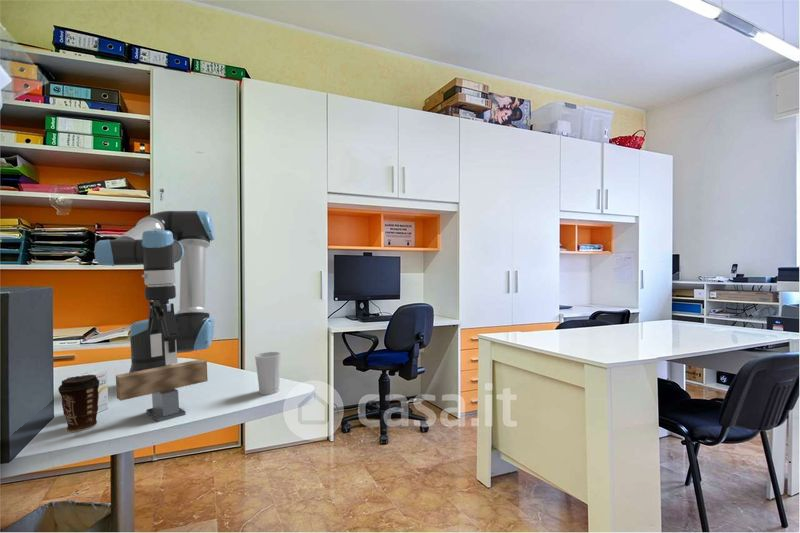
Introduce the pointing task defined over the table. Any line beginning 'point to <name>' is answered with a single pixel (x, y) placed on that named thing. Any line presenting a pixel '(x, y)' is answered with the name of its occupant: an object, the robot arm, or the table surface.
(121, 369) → the table surface
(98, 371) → the ink box
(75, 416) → the coffee cup
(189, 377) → the walnut beam
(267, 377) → the cup
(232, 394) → the table surface
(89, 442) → the table surface
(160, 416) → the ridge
